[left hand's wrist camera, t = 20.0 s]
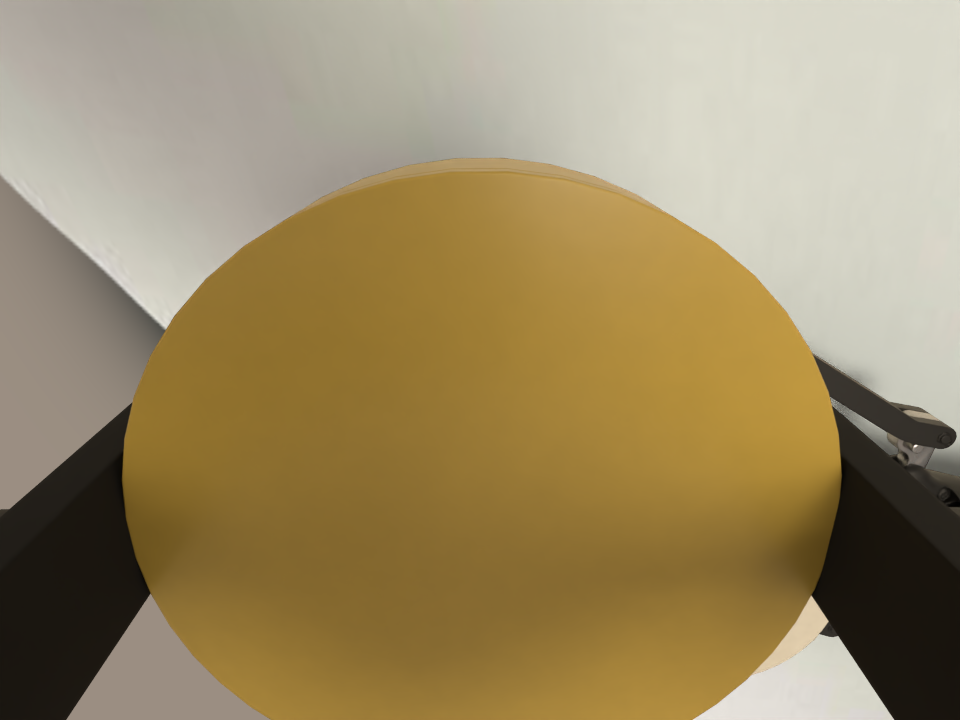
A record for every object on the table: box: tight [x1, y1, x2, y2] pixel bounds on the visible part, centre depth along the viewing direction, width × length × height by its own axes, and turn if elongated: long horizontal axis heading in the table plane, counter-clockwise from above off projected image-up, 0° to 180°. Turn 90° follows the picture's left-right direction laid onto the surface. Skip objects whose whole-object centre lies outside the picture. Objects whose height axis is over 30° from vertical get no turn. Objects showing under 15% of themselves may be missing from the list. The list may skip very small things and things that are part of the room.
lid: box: [122, 158, 842, 720], centre depth 11 cm, size 12×12×2 cm
